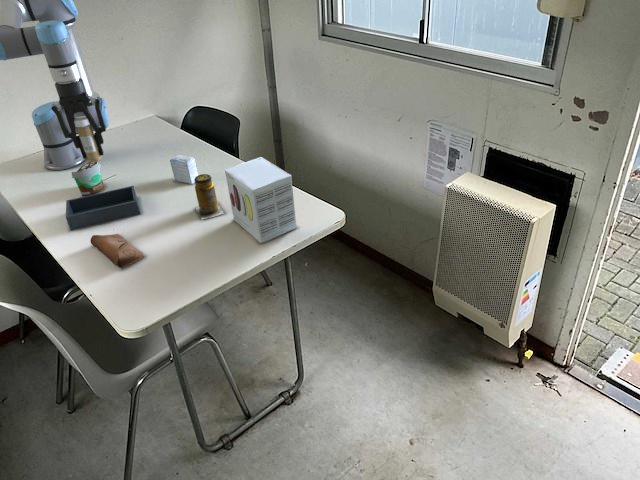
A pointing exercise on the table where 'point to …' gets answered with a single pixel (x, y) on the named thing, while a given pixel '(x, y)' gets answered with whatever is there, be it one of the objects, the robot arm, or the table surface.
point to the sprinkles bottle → (87, 139)
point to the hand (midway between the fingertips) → (93, 155)
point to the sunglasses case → (116, 249)
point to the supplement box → (261, 198)
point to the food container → (89, 178)
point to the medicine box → (184, 169)
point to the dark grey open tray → (101, 207)
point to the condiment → (206, 197)
